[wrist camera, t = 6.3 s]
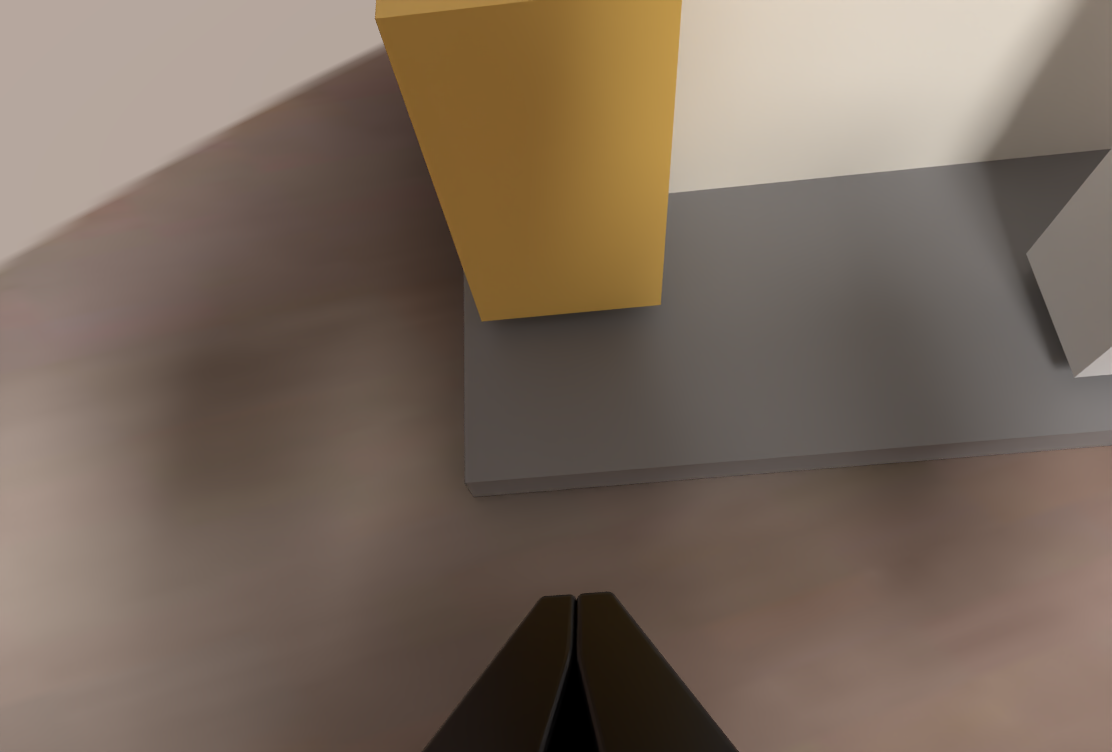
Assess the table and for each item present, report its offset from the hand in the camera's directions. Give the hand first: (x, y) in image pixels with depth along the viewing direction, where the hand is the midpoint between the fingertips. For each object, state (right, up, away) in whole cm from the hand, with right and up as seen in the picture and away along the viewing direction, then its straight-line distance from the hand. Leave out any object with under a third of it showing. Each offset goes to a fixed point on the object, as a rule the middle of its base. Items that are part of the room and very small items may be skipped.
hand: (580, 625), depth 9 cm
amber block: (0, +6, +9) cm, 10 cm away
